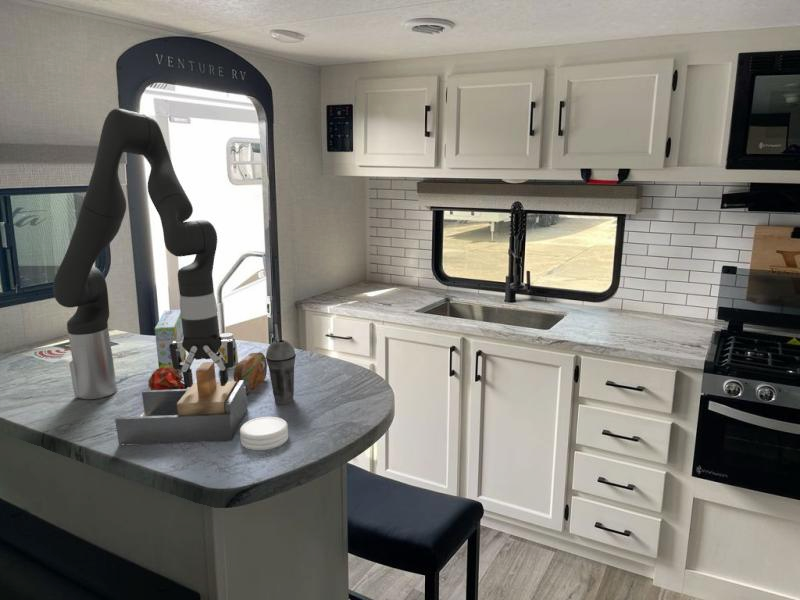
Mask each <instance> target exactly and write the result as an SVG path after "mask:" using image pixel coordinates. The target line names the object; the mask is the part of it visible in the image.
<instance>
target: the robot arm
mask: <svg viewBox="0 0 800 600" xmlns="http://www.w3.org/2000/svg"><path fill="white" fill-rule="evenodd" d="M99 137H100V138H99V143H98V149H97V150H96V151H97V153H96V157H95V162H94V166H93V169H92V173H91V177H90V180H89V183H88V186H87V190H86V192H85V194H84V197H83V200H82V203H81V207H80V210H79V213H78V216H77V222H76V225H75V226H74V230H73V233H72V235H71V238H70V242H69V244H68V247H67V250H66V252H65V254H64V256H63V259H62V260H61V264H60V265H59V267H58V269H57V272H56V274H55V275H54V280H53V283H52V291H53V295H54V296H53V297H54V299H55V301H56V302H57V303H58V304H59V305H60V306H62V307H64V308H69V309H70V308H76V307H77V309H76V311H75V312H74V314H73V315H72V316H71V317H70V318H69V319H68V320H67V322H66V330H67V334H68V341H69V345H70V346H69V347H70V353H71V358H72V360H71V361H70V362H69V370H70V376H71V382H72V388H73V395H74V398H76V399H77V398H79V399H83V400H94V399H96V400H97V399H102V398H105V397H108V396H110V395H113V394H115V393H116V392H117V391H118V386H117V385H118V384H117V380H116V379H117V378H116V372H115V363H114V358H113V351H112V344H111V337H110V331H109V324H108V321H109V318H110V304H109V303H110V302H109V293H108V286H107V285H108V284H107V281H106V278H105V275H104V274H103V272H102V271H101V270H100V269H99V268H98V267H96V266H94V264H95V262H96V261H97V259H98V258H99V256H100V255H101V254H102V253H103V252H104V251H105V250H106V248H107V247H108V246H109V245H110V244H111V243H112V241H113V240H114V239H115V237H116V236H117V235H118V232H119V231H120V228H121V226H122V223H123V220H124V217H125V215H126V211H127V201H126V196H125V193H124V190H123V188H122V184H121V180H120V178H119V169H120V168H119V167H120V162H121V158H122V156H123V153H128V154H133V155H138V156H143V158H144V159H146V161H147V162H148V164H149V166H150V172H149V176H148V180H147V192H148V195H149V198H150V200H151V202H152V204H153V206H154V208H155V209H156V212H157V213H158V216H159V218H160V223H161V227H162V233H163V242H164V245H165V248H166V250H167V251H168V252H169V253H170V254H171V255H173V256H175V257H177V258H178V257H180V258H181V257H186V256H187V257H189V256H195V258H194V260H193V262H191V263H189V264H188V265H186V266H182V267H181V268H179V269H178V271H177V282H178V291H179V310H180V312H181V320H182V329H183V336H184V339H183V341H180V342H178V341H176V340H174V341H173V342H172V343H171V344H170V345H169V348H170V353H171V359H172V364H173V368H174V369H179V370H181V373H182V377H183V381H184V382H183V383H184V384H185V385H187V387H188V388H190V387H191V386H192V385H193V383H194V380H193V371H192V368H191V366H192V364H193V362H194V361H196V360H212V362H214V364H216V366H217V367H218V368H219V382H220V383H221V386H225V384H226V383H227V382H229V381H230V378H229V369H228V368H231V367H233V366H234V364H235V363H236V352H235V342H236V340H235V338H234V337H233V338H231V339H230V340H222V339H221V337H220V327H219V326H220V325H219V315H218V312H219V311H218V305H217V300H216V296H215V289H214V281H213V280H214V279H213V271H214V270H213V269H214V263H215V257H216V252H217V248H218V247H217V246H218V233H217V230H216V228H215V226H214V225H213V224H212V223H211V222H210V221H208V220H205V219H201V220H190V221H188V219H190V217H192V215H193V211H194V209H193V205H192V203H191V200H190V198H189V197H188V195H187V193H186V191H185V190H184V188H183V186H182V184H181V183H180V180H179V178H178V177H177V173H176V171H175V169H174V166H173V163H172V159H171V156H170V152H169V150H168V146H167V144H166V140H165V138H164V135H163V132H162V130H161V127H160V125H159V123H158V121H156V119H155V118H154V117H151V116H150V115H148V114H144V113H140V112H136V111H132V110H128V109H124V108H118V107H117V108H113V109H111V110H110V111H109V112H108V114H107V116H106V117H105V120H104V122H103V125H102V128H101V133H100V136H99ZM221 345H223V346H224V348H225V349H226V350H227V356H228V361H227V362H226V360H225V359H224V357H223V355H222V353H221V352H220V351H219V348H220V346H221ZM182 346H183V347H184V349H185V350H186V353H188V355H186V358H185V361H184V363H183V362H182V360H181V355H180V350H181V349H182Z"/></svg>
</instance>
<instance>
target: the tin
mask: <svg viewBox="0 0 800 600" xmlns="http://www.w3.org/2000/svg"><path fill="white" fill-rule="evenodd" d="M267 367H268V364H267V360H266V355H264V353H263V352H261V351H259V352H252V353H249V354H248V355H247V356H245V357H244V358H243V359H242V360H240V361H238V364H237V365H236V367H235V368H234V371H233V381H236V383H237V384H238V382H239V381H240V380H244V387H246V395H247V394H249V395H251V394H252V393H253V392H254V391H255V390H256V389H257V388H258V387H259V386H260V385H262V384H263V383H264V381H265V380H266V378H267V372H268V371H267V369H268V368H267Z"/></svg>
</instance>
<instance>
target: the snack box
mask: <svg viewBox="0 0 800 600" xmlns="http://www.w3.org/2000/svg"><path fill="white" fill-rule="evenodd" d="M154 334H155V335H154V336H155V344H156V354H157V363H158V369H159V368H162V367H169V368H170V369H174V368H173V364H172V359H171V353H170V348H169V345H170V344H171V343H172V342H173V341H174V340H176V341H178V342H180V341H183V339H184V336H183V329H182V320H181V312H180V309H168V310H167V309H166V310H164V311H163V312H162V314H161V316H160V318H159V320H158V322H157V324H156V325H155V327H154ZM180 355H181V360H182V362H183V363H185V360H186V358H187V351H186V350H185V349H184V347H183V346H182V349H181V350H180ZM177 370H178V373H177V374H179V375H181V373H182V371H181V370H179V369H177Z"/></svg>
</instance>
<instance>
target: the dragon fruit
mask: <svg viewBox="0 0 800 600" xmlns="http://www.w3.org/2000/svg"><path fill="white" fill-rule="evenodd" d="M177 373H178V370H177V369H170V368H169V367H162V368H159V367H158V368H156V369H155V370H154V372H152V374H151V376H150V377H149V379H148V388H149V389H150V390H173V389H189V387H187V385H185V384H184V378H183V375H181V374H180V375H179V374H177Z"/></svg>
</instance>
